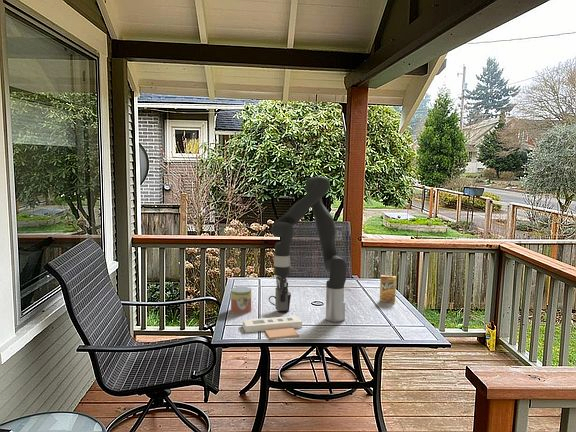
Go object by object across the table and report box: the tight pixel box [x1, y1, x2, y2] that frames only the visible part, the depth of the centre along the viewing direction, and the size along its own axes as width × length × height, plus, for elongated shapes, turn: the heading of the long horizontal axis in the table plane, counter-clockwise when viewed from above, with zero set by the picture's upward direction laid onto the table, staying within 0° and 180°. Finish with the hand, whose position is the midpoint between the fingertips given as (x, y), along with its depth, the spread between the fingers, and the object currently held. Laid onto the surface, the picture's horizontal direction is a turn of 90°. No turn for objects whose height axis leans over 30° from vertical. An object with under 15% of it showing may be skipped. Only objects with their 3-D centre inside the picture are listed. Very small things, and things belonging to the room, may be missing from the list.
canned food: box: [230, 286, 252, 315], centre depth 246 cm, size 11×11×12 cm
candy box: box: [379, 274, 397, 304], centre depth 265 cm, size 9×4×15 cm, turn 72°
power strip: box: [242, 315, 303, 333], centre depth 222 cm, size 28×9×3 cm, turn 105°
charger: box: [274, 287, 289, 312], centre depth 211 cm, size 5×4×10 cm
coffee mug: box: [268, 291, 292, 314], centre depth 246 cm, size 12×9×10 cm
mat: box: [264, 327, 299, 340], centre depth 213 cm, size 14×10×1 cm
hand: (281, 300), depth 211 cm, fingers closed on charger, 4 cm apart
